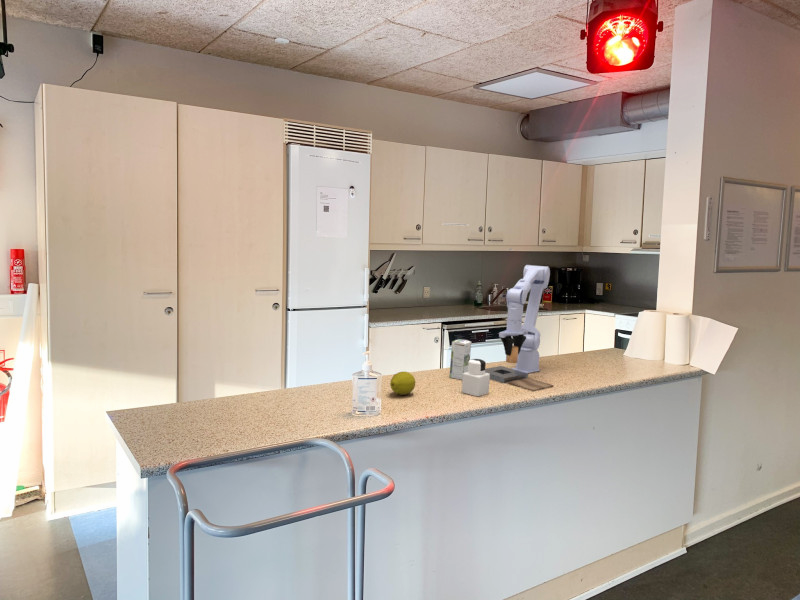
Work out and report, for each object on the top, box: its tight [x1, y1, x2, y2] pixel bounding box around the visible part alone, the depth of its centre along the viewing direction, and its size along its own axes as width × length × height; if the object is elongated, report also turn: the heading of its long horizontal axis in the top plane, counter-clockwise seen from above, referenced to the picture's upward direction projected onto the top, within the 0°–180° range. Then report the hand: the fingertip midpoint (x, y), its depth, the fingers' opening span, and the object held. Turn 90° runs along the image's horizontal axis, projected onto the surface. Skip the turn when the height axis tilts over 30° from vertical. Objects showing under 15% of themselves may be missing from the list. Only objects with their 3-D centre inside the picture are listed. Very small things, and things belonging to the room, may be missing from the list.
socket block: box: [484, 365, 529, 384], centre depth 240 cm, size 14×14×2 cm
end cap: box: [505, 344, 518, 364], centre depth 236 cm, size 4×4×6 cm
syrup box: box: [449, 339, 472, 381], centre depth 236 cm, size 6×6×14 cm
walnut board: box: [507, 377, 555, 392], centre depth 230 cm, size 12×12×1 cm
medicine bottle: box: [461, 358, 491, 397], centre depth 216 cm, size 7×7×12 cm
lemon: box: [389, 371, 416, 396], centre depth 210 cm, size 11×8×8 cm
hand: (512, 354), depth 236 cm, fingers closed on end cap, 4 cm apart
